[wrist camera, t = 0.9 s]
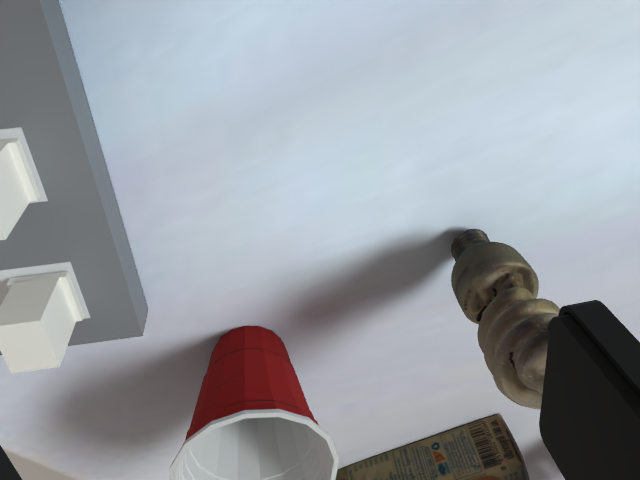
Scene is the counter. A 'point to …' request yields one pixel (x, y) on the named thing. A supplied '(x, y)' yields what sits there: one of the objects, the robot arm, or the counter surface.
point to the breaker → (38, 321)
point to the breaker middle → (14, 185)
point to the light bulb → (504, 313)
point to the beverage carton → (448, 457)
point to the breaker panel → (63, 177)
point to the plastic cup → (253, 418)
